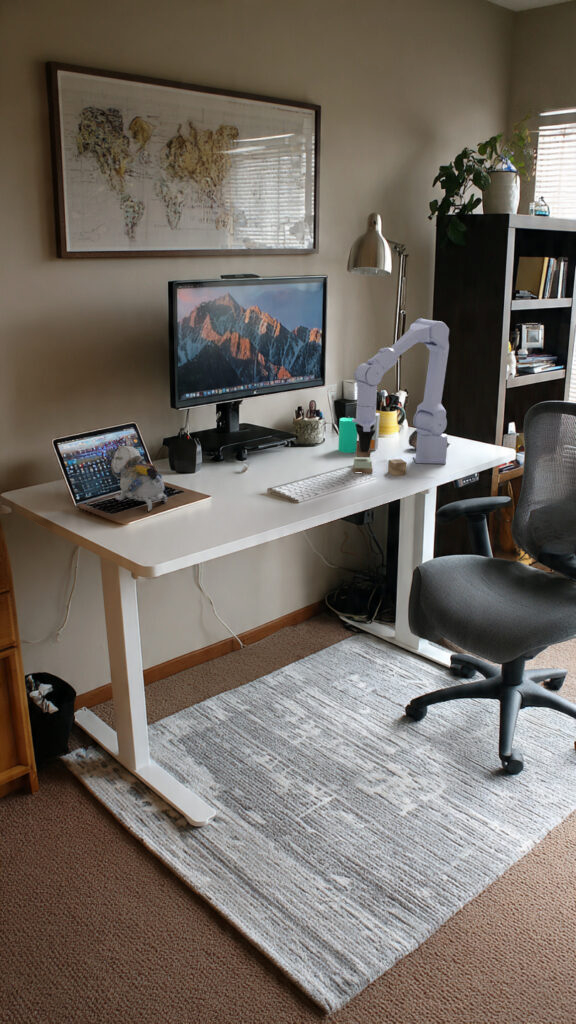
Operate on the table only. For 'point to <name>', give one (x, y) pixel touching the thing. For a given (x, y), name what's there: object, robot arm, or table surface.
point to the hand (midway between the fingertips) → (364, 449)
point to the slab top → (362, 462)
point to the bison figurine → (414, 440)
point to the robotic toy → (136, 476)
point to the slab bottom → (363, 470)
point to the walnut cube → (362, 454)
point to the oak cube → (397, 467)
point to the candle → (347, 435)
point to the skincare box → (375, 437)
